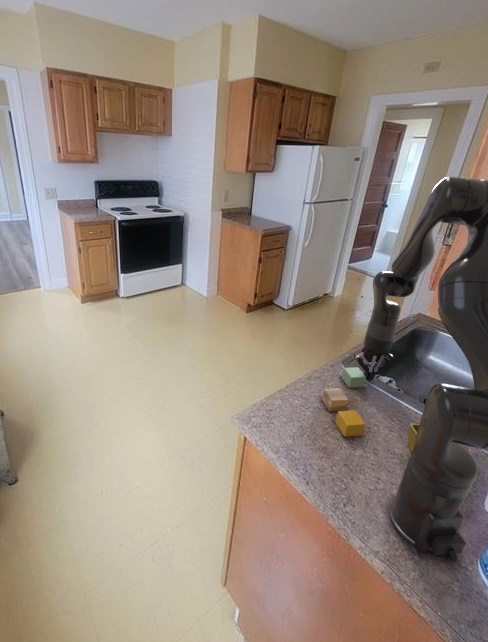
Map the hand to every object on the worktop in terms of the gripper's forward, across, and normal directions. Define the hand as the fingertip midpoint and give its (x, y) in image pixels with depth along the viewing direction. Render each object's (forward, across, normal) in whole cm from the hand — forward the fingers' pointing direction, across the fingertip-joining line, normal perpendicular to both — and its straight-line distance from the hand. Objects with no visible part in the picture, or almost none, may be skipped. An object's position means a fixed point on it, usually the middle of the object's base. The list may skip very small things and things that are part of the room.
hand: (368, 379), depth 105 cm
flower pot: (+1, -3, -31) cm, 31 cm away
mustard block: (+1, -16, -18) cm, 25 cm away
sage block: (+1, -5, 0) cm, 5 cm away
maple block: (+1, -16, -10) cm, 19 cm away
